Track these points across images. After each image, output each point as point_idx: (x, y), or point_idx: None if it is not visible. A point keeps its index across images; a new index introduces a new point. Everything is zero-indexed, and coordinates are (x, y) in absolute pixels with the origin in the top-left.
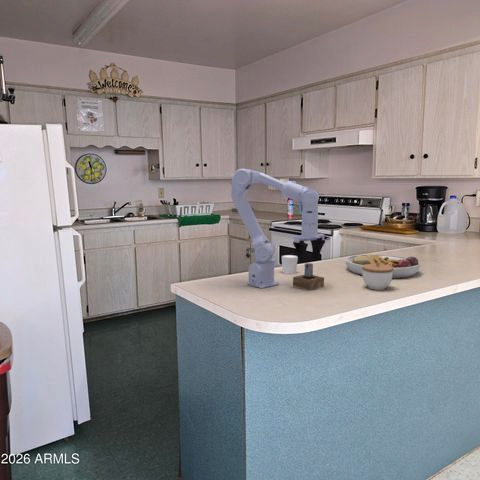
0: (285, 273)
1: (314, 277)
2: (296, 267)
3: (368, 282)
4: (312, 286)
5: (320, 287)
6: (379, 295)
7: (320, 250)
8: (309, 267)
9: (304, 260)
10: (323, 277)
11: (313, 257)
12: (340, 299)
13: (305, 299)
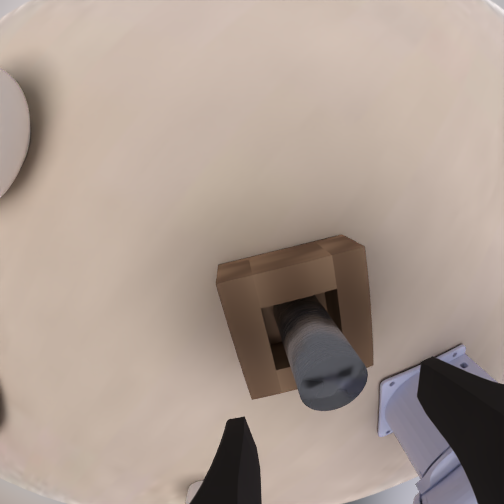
0: None
1: (264, 324)
2: (190, 498)
3: (26, 117)
4: (324, 244)
5: (249, 258)
6: (85, 23)
7: (211, 484)
8: (346, 345)
9: (432, 363)
10: (217, 288)
11: (256, 453)
12: (300, 31)
13: (436, 122)
